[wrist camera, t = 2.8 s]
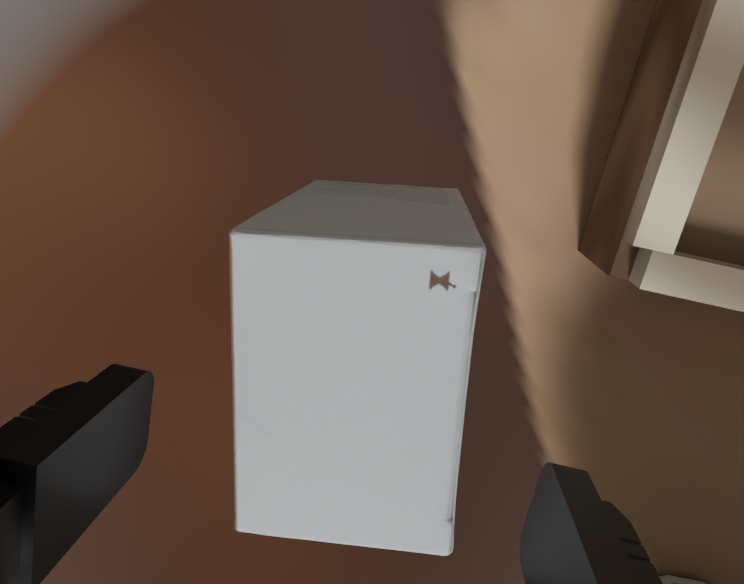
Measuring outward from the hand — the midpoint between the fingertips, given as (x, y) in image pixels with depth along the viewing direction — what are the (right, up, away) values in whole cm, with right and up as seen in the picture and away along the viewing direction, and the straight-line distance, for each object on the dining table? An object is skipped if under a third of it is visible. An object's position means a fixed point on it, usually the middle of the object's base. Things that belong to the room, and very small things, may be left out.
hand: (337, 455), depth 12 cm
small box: (+1, +4, +12) cm, 12 cm away
